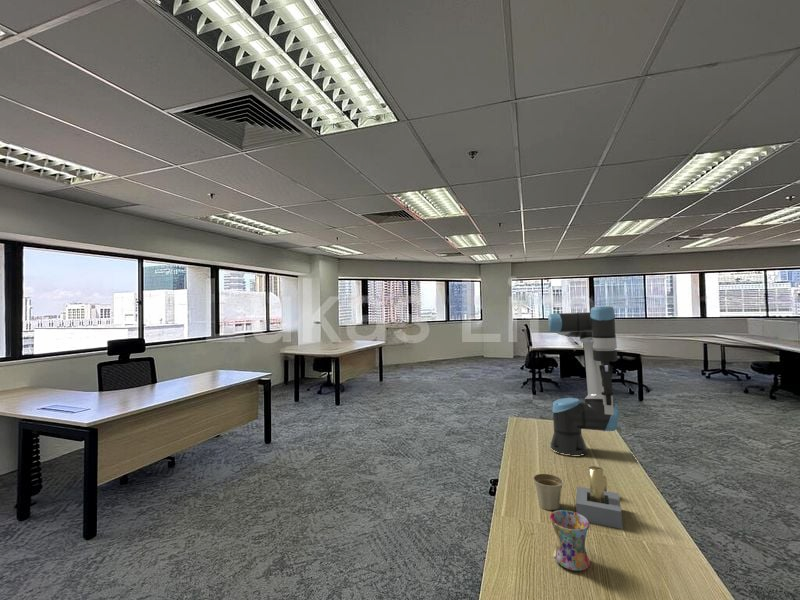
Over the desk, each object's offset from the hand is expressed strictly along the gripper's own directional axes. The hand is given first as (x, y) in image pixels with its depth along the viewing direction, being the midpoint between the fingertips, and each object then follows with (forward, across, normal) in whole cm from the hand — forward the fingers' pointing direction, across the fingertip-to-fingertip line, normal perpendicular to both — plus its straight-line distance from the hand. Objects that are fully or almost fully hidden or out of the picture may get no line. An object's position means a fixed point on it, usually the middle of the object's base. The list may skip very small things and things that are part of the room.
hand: (608, 409), depth 129 cm
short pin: (+29, +4, -4) cm, 29 cm away
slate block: (+29, +18, -5) cm, 34 cm away
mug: (+29, +44, -12) cm, 54 cm away
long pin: (+29, +18, -5) cm, 34 cm away
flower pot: (+29, +19, -19) cm, 39 cm away
